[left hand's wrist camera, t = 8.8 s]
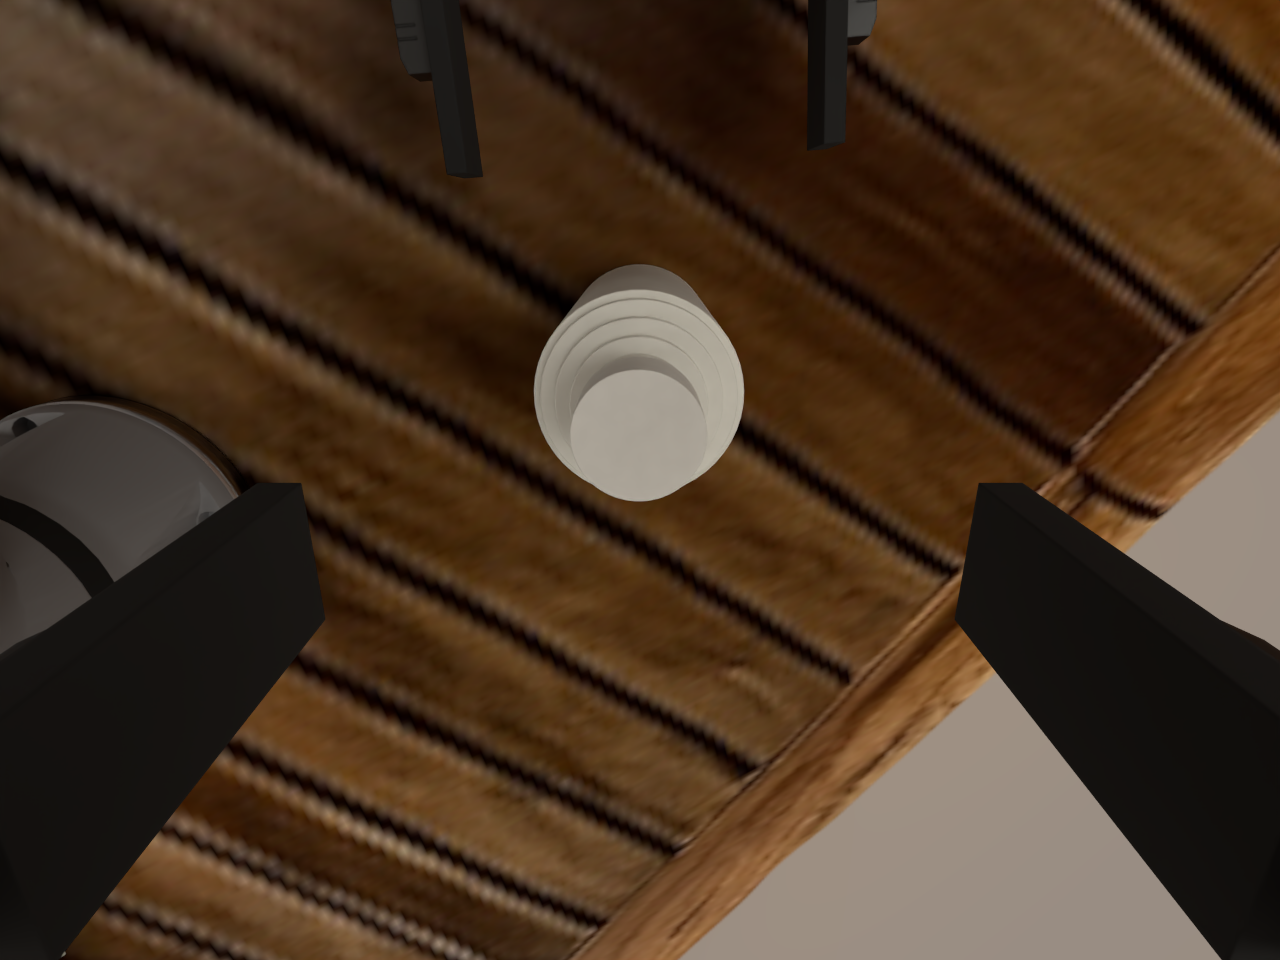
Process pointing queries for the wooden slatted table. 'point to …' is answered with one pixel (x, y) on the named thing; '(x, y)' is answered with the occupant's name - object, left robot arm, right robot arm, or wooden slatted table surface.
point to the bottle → (639, 353)
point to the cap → (638, 429)
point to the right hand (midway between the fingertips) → (644, 162)
